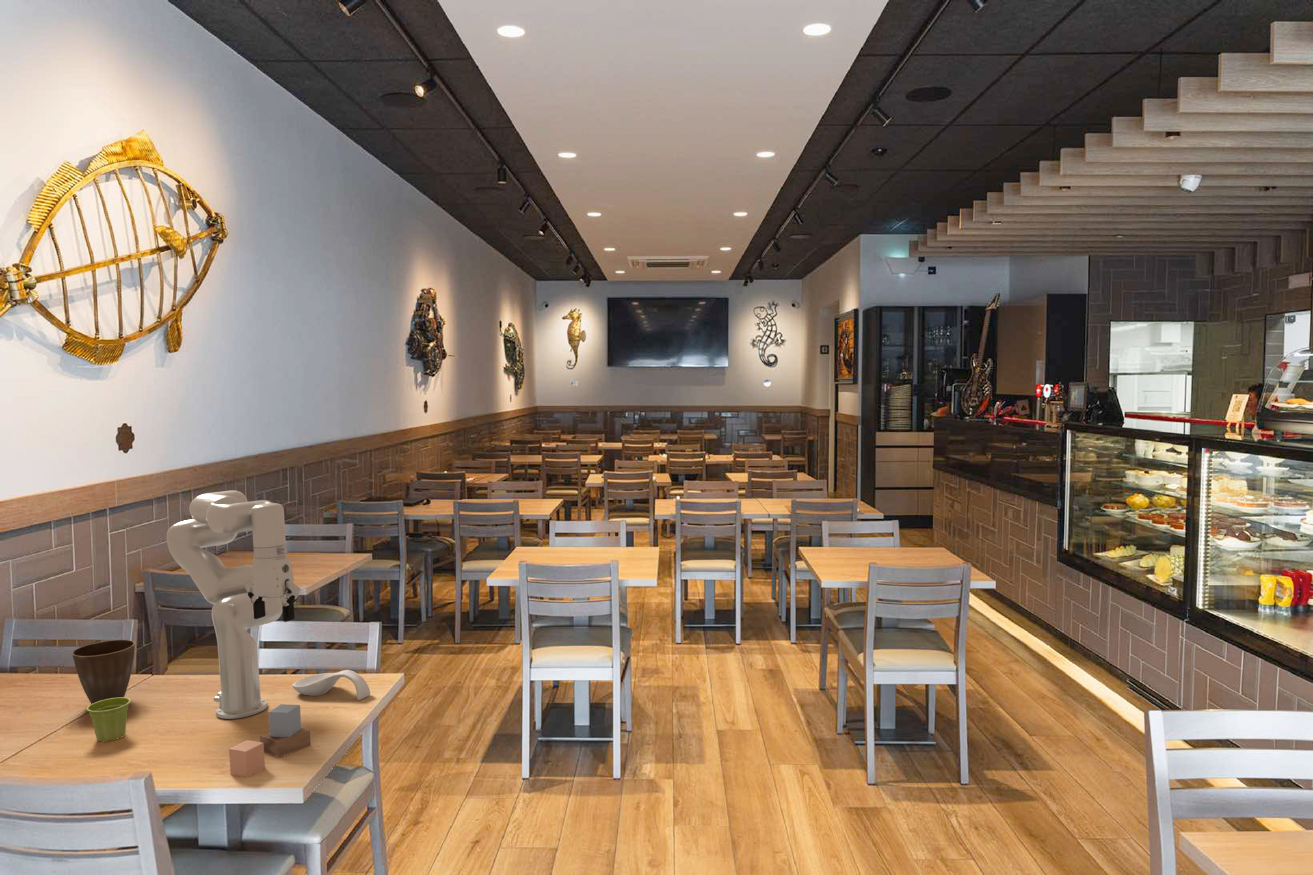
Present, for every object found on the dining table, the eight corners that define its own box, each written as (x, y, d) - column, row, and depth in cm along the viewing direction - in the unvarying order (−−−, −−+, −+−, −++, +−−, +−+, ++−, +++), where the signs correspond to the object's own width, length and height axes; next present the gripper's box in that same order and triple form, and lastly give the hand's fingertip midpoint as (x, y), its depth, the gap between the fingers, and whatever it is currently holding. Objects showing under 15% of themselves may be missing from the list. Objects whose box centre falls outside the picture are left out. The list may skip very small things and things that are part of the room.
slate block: (282, 728, 211) (281, 704, 210) (301, 729, 210) (299, 704, 210) (270, 736, 206) (268, 711, 205) (289, 737, 205) (287, 712, 205)
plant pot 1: (149, 698, 246) (145, 643, 245) (92, 716, 233) (88, 658, 232) (122, 690, 254) (118, 637, 253) (66, 707, 241) (61, 651, 240)
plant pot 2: (141, 731, 221) (139, 698, 221) (107, 746, 212) (105, 712, 212) (114, 728, 224) (112, 695, 224) (80, 742, 215) (77, 708, 215)
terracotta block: (230, 774, 194) (228, 748, 194) (248, 765, 199) (246, 739, 199) (247, 777, 192) (245, 751, 192) (265, 768, 197) (263, 742, 197)
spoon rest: (284, 697, 243) (282, 672, 243) (314, 683, 254) (312, 660, 254) (351, 706, 235) (350, 680, 235) (379, 691, 246) (378, 666, 246)
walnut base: (260, 751, 207) (259, 735, 207) (291, 739, 214) (290, 724, 213) (280, 759, 202) (279, 742, 202) (310, 746, 209) (309, 730, 209)
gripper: (307, 550, 218) (311, 617, 219) (256, 548, 225) (260, 612, 226) (284, 556, 211) (289, 625, 212) (232, 553, 218) (236, 620, 219)
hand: (274, 618), depth 219 cm, fingers open, 9 cm apart
